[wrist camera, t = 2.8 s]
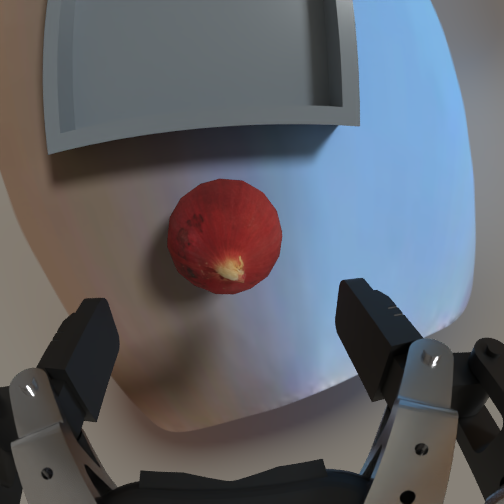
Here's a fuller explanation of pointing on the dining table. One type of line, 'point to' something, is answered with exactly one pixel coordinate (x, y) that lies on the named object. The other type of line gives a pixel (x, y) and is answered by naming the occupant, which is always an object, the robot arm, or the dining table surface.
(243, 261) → the onion
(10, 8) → the dining table surface
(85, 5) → the tray
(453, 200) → the dining table surface
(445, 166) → the dining table surface
